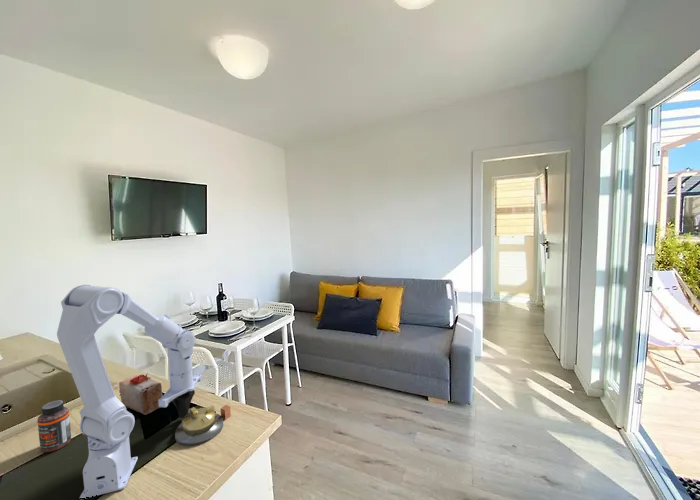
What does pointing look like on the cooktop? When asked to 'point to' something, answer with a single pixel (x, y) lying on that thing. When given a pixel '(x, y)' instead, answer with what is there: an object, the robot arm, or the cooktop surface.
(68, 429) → the supplement bottle
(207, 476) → the cooktop surface
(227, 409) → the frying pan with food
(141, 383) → the food item
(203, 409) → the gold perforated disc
